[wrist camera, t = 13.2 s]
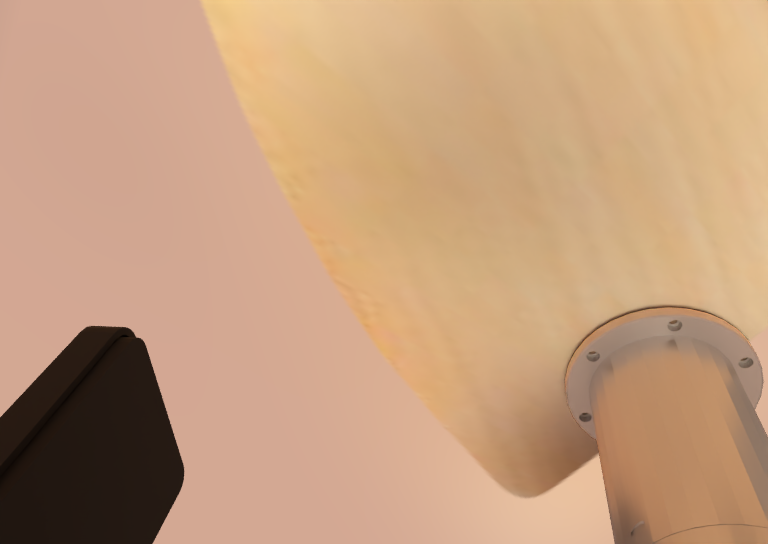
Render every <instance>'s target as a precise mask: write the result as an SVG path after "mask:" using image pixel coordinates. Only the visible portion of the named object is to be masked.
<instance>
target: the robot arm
mask: <svg viewBox="0 0 768 544" xmlns="http://www.w3.org/2000/svg"><path fill="white" fill-rule="evenodd" d="M762 387H763V373H762V367H761V364H760V362H759V359H758V357H757V354H756V353H755V351H754V349H753V348H752V346H751V344H750V342H749V341H748V340H747V339H746V338H745V336H744V335H743V334H742V333H741V332H740V331H739V330H738V329H736V328H735V327H733V326H732V325H730V324H729V323H727V322H726V321H725V320H723V319H720V318H718V317H716V316H713V315H711V314H708V313H705V312H701V311H696V310H692V309H686V308H671V307H667V308H655V309H647V310H642V311H638V312H634V313H630V314H627V315H625V316H622V317H620V318H617V319H615V320H612V321H610V322H609V323H607V324H605V325H604V326H602V327H600V328H599V329H597V330H596V331H595V332H593V333H592V334H591V335H590V336H589V337H588V338H586V339H585V340H584V341H583V343H582V344H581V345H580V346H579V348H578V349H577V350H576V351H575V353H574V355H573V357H572V359H571V361H570V363H569V365H568V368H567V373H566V377H565V390H566V397H567V403H568V407H569V409H570V411H571V414H572V416H573V418H574V419H575V420H576V422H577V423H578V425H579V426H580V427H581V428H582V429H583V430H584V431H585V432H586V433H587V434H588V435H590V436H591V437H592V438H593V439H595V440H597V444H598V450H599V456H600V462H601V467H602V473H603V479H604V484H605V490H606V496H607V501H608V507H609V513H610V519H611V525H612V530H613V535H614V541H615V544H768V437H767V434H766V432H765V430H764V428H763V426H762V424H761V422H760V420H759V418H758V416H757V414H756V412H755V408H756V406H757V404H758V401H759V399H760V397H761V393H762ZM183 480H184V466H183V462H182V459H181V456H180V453H179V449H178V446H177V443H176V440H175V437H174V434H173V430H172V427H171V424H170V421H169V418H168V414H167V411H166V408H165V405H164V402H163V399H162V395H161V392H160V389H159V386H158V383H157V380H156V376H155V373H154V370H153V367H152V364H151V361H150V357H149V354H148V351H147V348H146V345H145V343H144V341H143V340H142V339H141V338H136V336H135V334H134V333H133V332H132V330H131V329H129V328H126V327H106V326H90V327H86V328H85V329H84V330H82V331H81V332H80V333H79V334H78V335H77V336H76V337H75V338H74V339H73V341H72V342H71V343H70V344H69V345H68V346H67V347H66V348H65V349H64V350H63V351H62V352H61V353H60V354H59V355H58V356H57V358H56V359H55V360H54V361H53V362H52V363H51V364H50V365H49V366H48V367H47V368H46V369H45V370H44V372H43V373H42V374H41V375H40V376H39V377H38V378H37V379H36V380H35V381H34V382H33V383H32V384H31V385H30V386H29V387H28V389H27V390H26V391H25V392H24V393H23V394H22V395H21V396H20V397H19V398H18V399H17V400H16V401H15V402H14V404H13V405H12V406H11V407H10V408H9V409H8V410H7V411H6V412H5V413H4V414H3V415H2V416H1V417H0V544H152V543H153V542H154V540H155V538H156V536H157V534H158V532H159V530H160V528H161V526H162V524H163V523H164V520H165V519H166V517H167V515H168V513H169V511H170V509H171V507H172V505H173V504H174V502H175V500H176V498H177V496H178V494H179V492H180V490H181V487H182V484H183Z"/></svg>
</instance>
